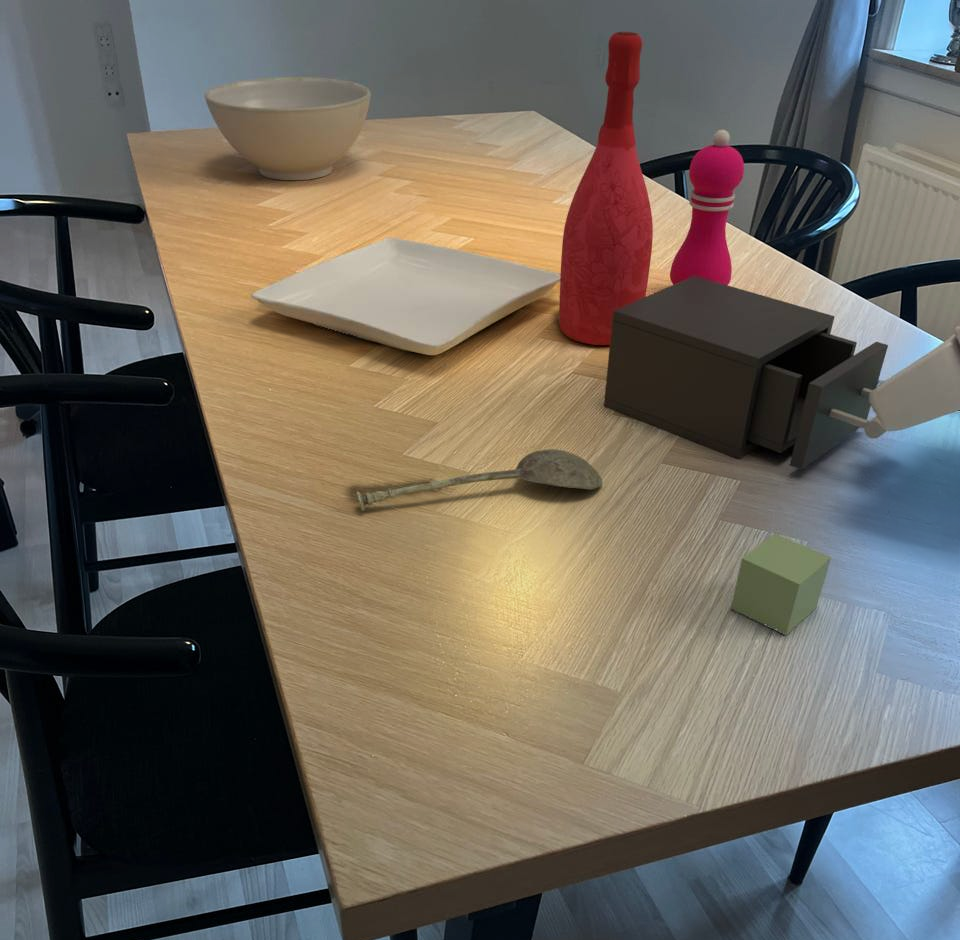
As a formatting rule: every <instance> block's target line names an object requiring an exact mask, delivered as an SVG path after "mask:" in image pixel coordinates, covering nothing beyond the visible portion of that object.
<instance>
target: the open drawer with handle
mask: <svg viewBox="0 0 960 940" xmlns="http://www.w3.org/2000/svg"><path fill="white" fill-rule="evenodd" d="M857 344H858V342H857V341H854V340H851V339H847V338H844V337H840V336H837V335H834V334H832V333H830V334H827V333H824V332H819V333H818V334H816V335H814V336H812V337H811V338H809V339H807V340H805V341H804V342H802V343H800V344H798V345H796V346H795V347H793V348H791V349H789V350H788V351H786V352H784V353H782V354H781V355H779V356H777V357H775V358H774V359H772V360H770V361H768V362H767V363H765V364H763V365H762V368H761V373H760V378H759V383H758V388H757V393H756V398H755V403H754V408H753V412H752V417H751V422H750V427H749V432H748V437H747V440H748V441H750V442H753V443H755V444H758V445H759V446H761V447H763V448H766V449H769V450H771V451H774V452H776V453H779V454H782V453H783V452H784V451H786V450H788V449H789V448H790V447H793V448H792V449H793V450H792V454H791V458H790V462H789V466H791V467H793V468H796V469H798V470H800V471H801V470H804V469H805V468H806V467H808V466H809V465H810V464H812V463H813V462H815V461H816V460H817V459H818V458H820V457H822V456H823V455H824V454H826V453H827V452H828V451H829V450H831V449H833V448H835V446H837V445H838V444H839V443H841V442H843V441H844V440H845V439H847V438H848V437H849V436H851V435H852V434H853V433H855V432H856V431H858V430H859V429H860V428H861V429H863V430H864V434H865V435H866V436H867V437H868V438H870V439H878V438H880V437H881V436H882V435H884V434H885V433H886V432H888V431H887V430H885V429H884V427H883V426H882V424H881V422H880V420H879V419H878V417H877V415H875V416H874V417H873V418H871V419H870V420H868V417H869V414H870V411H871V408H872V407H871V405H870V403H869V394H870V393H871V392H872V391H873V390H874V389H875V388H876V387H878V383H879V379H880V376H881V372H882V369H883V365H884V362H885V358H886V355H887V351H888V348H889V344H886V343H882V342H879V341H875V342H873V343H872V344H870V345H868V346H866V347H865V348H863V349H862V350H860V351H859V352H857V353H855V351H856V347H857ZM793 445H794V446H793Z"/></svg>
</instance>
